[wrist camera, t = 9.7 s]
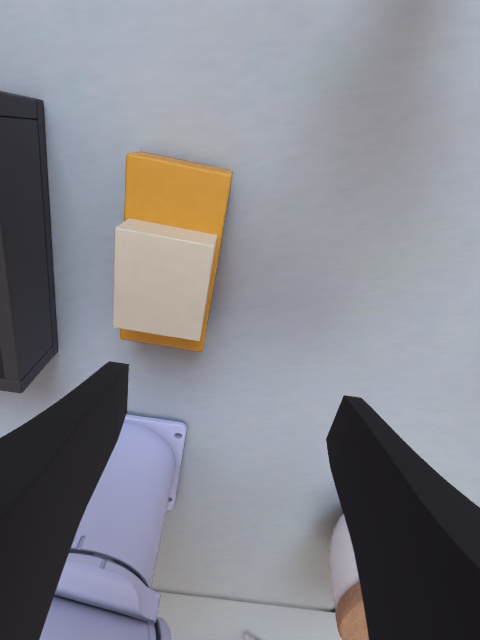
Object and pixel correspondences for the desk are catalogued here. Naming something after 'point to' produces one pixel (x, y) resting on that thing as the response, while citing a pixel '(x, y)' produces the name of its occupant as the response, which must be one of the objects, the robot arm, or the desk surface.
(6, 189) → the storage box
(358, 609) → the trinket box
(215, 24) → the desk surface
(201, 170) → the two-tone block
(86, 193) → the desk surface
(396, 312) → the desk surface
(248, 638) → the crossbow
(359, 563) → the robot arm
